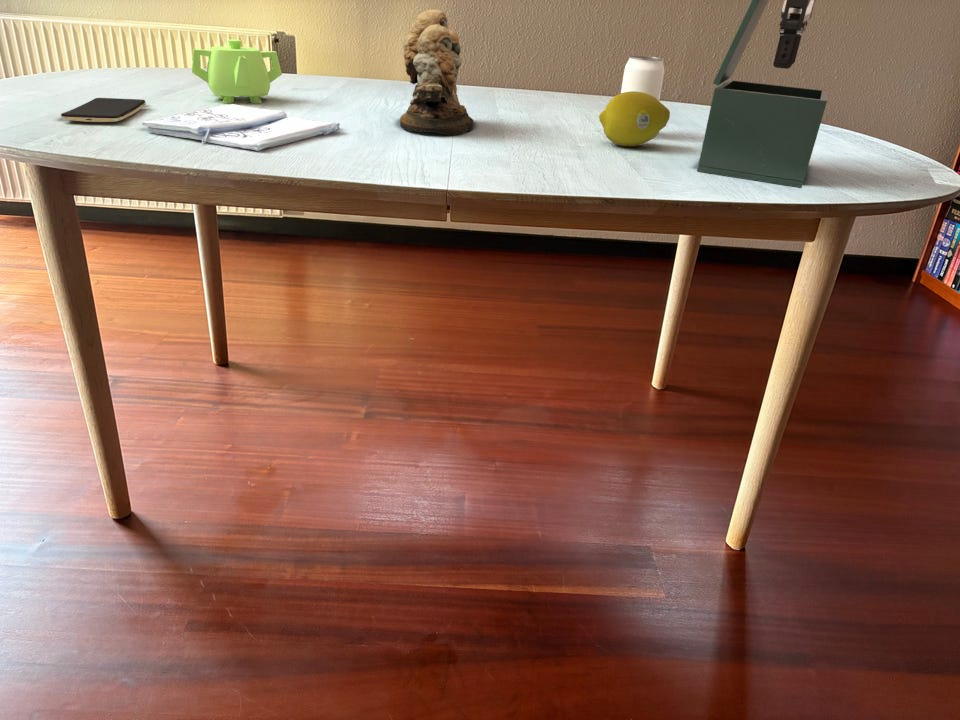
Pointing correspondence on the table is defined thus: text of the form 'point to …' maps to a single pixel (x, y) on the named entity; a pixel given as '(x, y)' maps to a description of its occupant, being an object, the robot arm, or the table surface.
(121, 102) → the smartphone
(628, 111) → the lemon
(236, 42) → the teapot
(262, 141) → the open sketchbook
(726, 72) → the bin lid
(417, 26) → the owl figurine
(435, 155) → the table surface
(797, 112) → the trash bin
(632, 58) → the can
